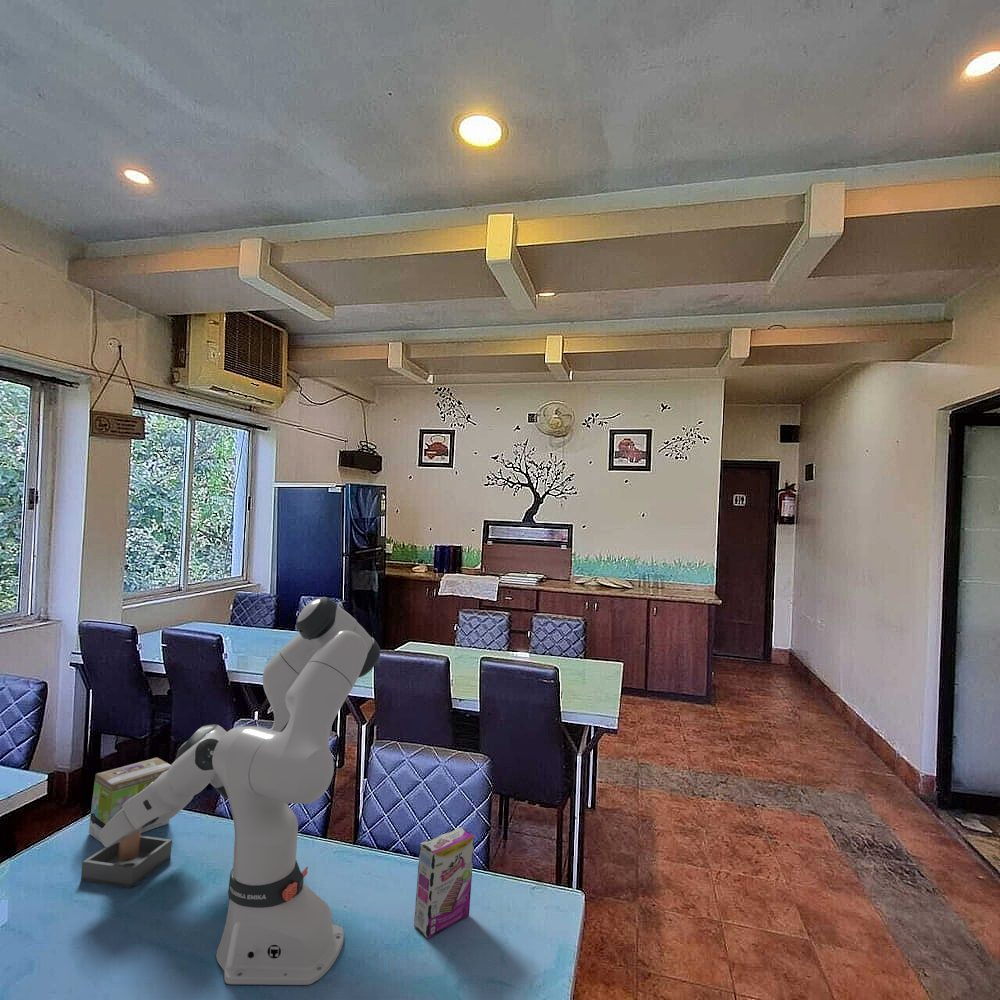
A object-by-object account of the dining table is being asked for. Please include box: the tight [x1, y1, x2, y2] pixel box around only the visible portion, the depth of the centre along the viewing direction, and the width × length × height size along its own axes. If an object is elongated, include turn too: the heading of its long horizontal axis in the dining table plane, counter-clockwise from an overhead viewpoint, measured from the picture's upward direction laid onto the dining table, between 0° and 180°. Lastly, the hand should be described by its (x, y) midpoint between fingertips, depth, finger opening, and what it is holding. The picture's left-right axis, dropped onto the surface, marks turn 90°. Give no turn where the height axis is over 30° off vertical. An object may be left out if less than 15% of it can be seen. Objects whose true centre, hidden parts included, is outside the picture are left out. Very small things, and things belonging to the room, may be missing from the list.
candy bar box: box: [413, 827, 476, 939], centre depth 118 cm, size 11×5×16 cm, turn 135°
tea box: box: [88, 757, 172, 844], centre depth 146 cm, size 15×10×15 cm, turn 147°
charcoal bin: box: [80, 834, 173, 889], centre depth 129 cm, size 12×12×4 cm
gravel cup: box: [118, 830, 142, 862], centre depth 130 cm, size 4×4×9 cm
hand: (128, 833), depth 130 cm, fingers closed on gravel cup, 4 cm apart
